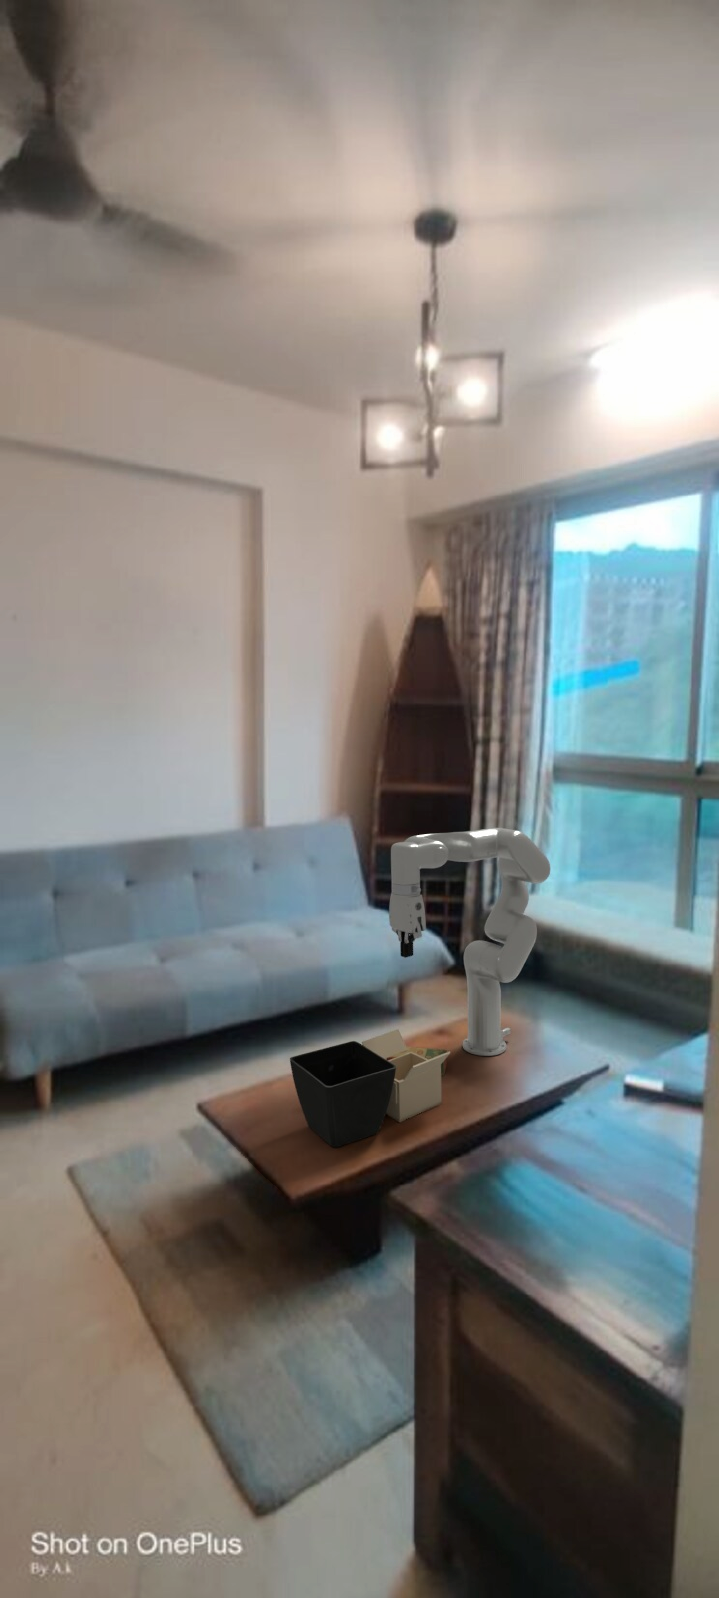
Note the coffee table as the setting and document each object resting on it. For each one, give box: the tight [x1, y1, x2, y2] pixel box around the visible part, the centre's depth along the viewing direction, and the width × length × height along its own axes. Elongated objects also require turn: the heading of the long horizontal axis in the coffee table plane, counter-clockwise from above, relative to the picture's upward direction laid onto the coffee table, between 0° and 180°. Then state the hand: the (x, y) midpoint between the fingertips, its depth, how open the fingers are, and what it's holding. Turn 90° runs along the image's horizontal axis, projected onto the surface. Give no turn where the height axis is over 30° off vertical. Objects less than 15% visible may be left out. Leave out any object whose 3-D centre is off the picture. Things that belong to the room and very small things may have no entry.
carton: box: [386, 1046, 448, 1076], centre depth 220 cm, size 8×16×4 cm, turn 78°
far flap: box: [361, 1028, 408, 1059], centre depth 203 cm, size 12×6×1 cm
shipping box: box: [385, 1052, 442, 1123], centre depth 198 cm, size 15×11×10 cm
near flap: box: [403, 1051, 451, 1081], centre depth 191 cm, size 12×6×1 cm
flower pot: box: [289, 1040, 396, 1148], centre depth 187 cm, size 19×19×17 cm
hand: (407, 955), depth 212 cm, fingers closed
